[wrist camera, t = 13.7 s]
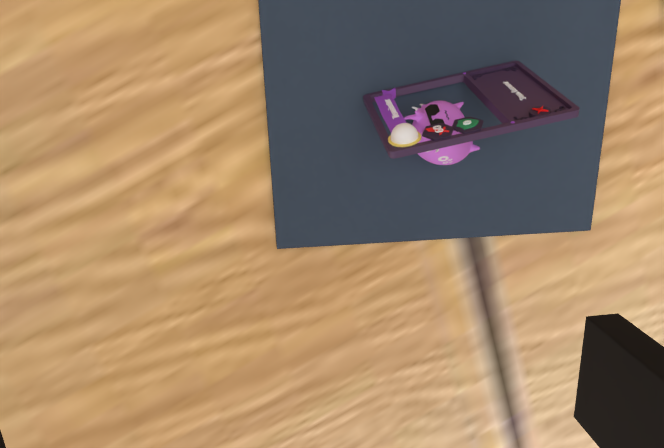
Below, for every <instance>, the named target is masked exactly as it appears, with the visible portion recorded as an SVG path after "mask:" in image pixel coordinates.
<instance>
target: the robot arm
mask: <svg viewBox="0 0 664 448" xmlns="http://www.w3.org/2000/svg"><path fill="white" fill-rule="evenodd" d="M574 417H575V419H576V420H577V421H578V422H579V423H580V425H581V426H582V427H583V428H584V429H585V431H586V432H587V433H588V434H589V435H590V437H591V438H592V439H593V440H594V441H595V443H596V444H597V445H598V446H599V447H600V448H664V347H663V346H662V345H660V344H659V343H657V342H656V341H655V340H653V339H652V338H651V337H649V336H648V335H647V334H645V333H644V332H642V331H641V330H640V329H638V328H637V327H636V326H634V325H633V324H632V323H630V322H629V321H628V320H626V319H625V318H623V317H622V316H621V315H619V314H608V315H598V316H588V317H586V323H585V331H584V339H583V347H582V355H581V363H580V371H579V379H578V387H577V395H576V403H575V411H574ZM0 448H6V447H5V443H4V440H3V437H2V434H1V431H0Z"/></svg>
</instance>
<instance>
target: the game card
mask: <svg viewBox="0 0 664 448" xmlns="http://www.w3.org/2000/svg"><path fill="white" fill-rule="evenodd" d="M459 82H464V83H465V84H466V85H467V87H468V88H469V89H470V90H471V91H472V92H473V93H474V94H475V95H476V96H477V97H478V98H479V99H480V100H481V101H482V102H483V104H484V105H485V106H486V107H487V108H488V109H489V110H490V111H491V112H492V113H493V114H494V115H495V116H496V117H497V118H498V119H499V121H500V122H501V123H502V124H500V125H496V126H491V127H487V128H482V125H483V122H484V121H483V120H480V119H477V118H474V117H471V116H469V117H464V115H463V114H462V112H461V111H460V108H461V107H462V105H463V104H464V102H459V103H456V104H452V103H449V102H446V101H433V102H430V103H428V104H420V105H421V108H417V107H412V108H413V109H415V110H416V111H415V114H414V115H409V116H406V117H405V118H404V117H403V116H402V114H401V112H400V111H399V109H398V106H397V104H396V102H395V100H394V99H395V98H396V97H397V96H402V95H406V94H411V93H415V92H419V91H424V90H428V89H433V88H437V87H441V86H446V85H450V84H455V83H459ZM363 101H364V104H365V107H366V109H367V111H368V113H369V115H370V117H371V119H372V122H373V124H374V126H375V128H376V130H377V132H378V134H379V136H380V139H381V141H382V143H383V145H384V147H385V149H386V151H387V154H388V156H389V157H390V158H392V159H395V158H400V157H404V156H409V155H413V154H418V155H419V156H420V157H422V158H423V159H424V160H426V161H428V162H430V163H433V164H437V165H451V164H455V163H458V162H460V161H461V160H463V159H464V158H465V157H466V156H467V155H468V154H469V153H470V152H473V151H476V150H479V149H480V147H479V146H476V145H474V144H473V141H475V140H479V139H484V138H488V137H493V136H497V135H501V134H506V133H510V132H515V131H519V130H523V129H528V128H532V127H537V126H541V125H545V124H550V123H554V122H559V121H563V120H567V119H572V118H576V117H578V116H579V109H580V108H579V107H578V106H577V105H576V104H574V103H573V102H572V101H570V100H569V99H568V98H567V97H565V96H564V95H563V94H561V93H560V92H559V91H557V90H556V89H555V88H554V87H552V86H551V85H550V84H548V83H547V82H546V81H544V80H543V79H542V78H540V77H539V76H538V75H537V74H535V73H534V72H533V71H531V70H530V69H529V68H527V67H526V66H525V65H524V64H522V63H521V62H520V61H511V62H506V63H502V64H498V65H493V66H489V67H484V68H480V69H476V70H471V71H467V72H462V73H458V74H453V75H449V76H445V77H440V78H436V79H431V80H427V81H423V82H418V83H414V84H409V85H405V86H400V87H396V88H392V89H387V90H382V91H378V92H374V93H370V94H366V95H364V96H363ZM375 101H376V103H377V105H378V107H379V110H380V112H381V115H382V117H383V119H384V121H385V122H386V124H387V126H388V128H389V130H390V132H391V135H390V136H389V135H388V133H387V131H386V129H385V127H384V125H383V123H382V121H381V119H380V118H379V116H378V114H377V112H376V110H375V108H374V106H373V104H372V102H375ZM407 119H412V120H414V121H413V123H412V125H411V124H409V123H407V122H406V121H405V120H407ZM481 128H482V129H481ZM394 146H395V147H397V148H395V147H394Z"/></svg>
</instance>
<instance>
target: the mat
mask: <svg viewBox="0 0 664 448" xmlns="http://www.w3.org/2000/svg"><path fill="white" fill-rule="evenodd" d="M258 1H259V15H260V28H261V41H262V55H263V68H264V82H265V95H266V108H267V122H268V135H269V148H270V162H271V175H272V189H273V202H274V215H275V229H276V242H277V249H283V248H300V247H317V246H333V245H350V244H367V243H384V242H401V241H418V240H435V239H452V238H469V237H486V236H503V235H520V234H537V233H554V232H571V231H588V230H591V223H592V215H593V208H594V200H595V193H596V185H597V177H598V170H599V162H600V155H601V147H602V139H603V132H604V124H605V117H606V109H607V102H608V94H609V86H610V79H611V71H612V64H613V56H614V48H615V41H616V33H617V26H618V18H619V10H620V3H621V0H258ZM511 61H520V62H521V63H522V64H524V65H525V66H526V67H527V68H529V69H530V70H531V71H533V72H534V73H535V74H537V75H538V76H539V77H540V78H542V79H543V80H544V81H546V82H547V83H548V84H550V85H551V86H552V87H554V88H555V89H556V90H557V91H559V92H560V93H561V94H563V95H564V96H565V97H567V98H568V99H569V100H570V101H572V102H573V103H574V104H576V105H577V106H578V107H579V108H580V109H579V116H578V117H576V118H572V119H567V120H563V121H559V122H554V123H550V124H545V125H541V126H537V127H532V128H528V129H523V130H519V131H515V132H510V133H506V134H501V135H497V136H493V137H488V138H484V139H479V140H475V141H473V144H474V145H476V146H479V147H480V149H479V150H476V151H473V152H470V153H469V154H468V155H467V156H466V157H465V158H464V159H463V160H461V161H460V162H458V163H455V164H451V165H437V164H433V163H430V162H428V161H426V160H424V159H423V158H422V157H420V156H419V155H418V154H413V155H409V156H404V157H400V158H395V159H392V158H390V157H389V156H388V154H387V151H386V149H385V147H384V145H383V143H382V141H381V139H380V136H379V134H378V132H377V130H376V128H375V126H374V124H373V122H372V119H371V117H370V115H369V113H368V111H367V109H366V107H365V104H364V101H363V96H364V95H366V94H370V93H374V92H378V91H382V90H387V89H392V88H396V87H400V86H405V85H409V84H414V83H418V82H423V81H427V80H431V79H436V78H440V77H445V76H449V75H453V74H458V73H462V72H467V71H471V70H476V69H480V68H484V67H489V66H493V65H498V64H502V63H506V62H511ZM394 100H395V102H396V104H397V106H398V109H399V111H400V112H401V114H402V116H403V117H404V118H405V117H406V116H409V115H414V114H415V111H416V110H415V109H413V108H412V107H417V108H421V105H420V104H428V103H430V102H433V101H446V102H449V103H452V104H456V103H459V102H464V104H463V105H462V107H461V108H460V111H461V112H462V114H463V115H464V117H469V116H471V117H474V118H477V119H480V120H483V121H484V122H483V125H482V128H487V127H491V126H496V125H500V124H502V123H501V122H500V121H499V119H498V118H497V117H496V116H495V115H494V114H493V113H492V112H491V111H490V110H489V109H488V108H487V107H486V106H485V105H484V104H483V102H482V101H481V100H480V99H479V98H478V97H477V96H476V95H475V94H474V93H473V92H472V91H471V90H470V89H469V88H468V87H467V85H466V84H465V83H464V82H459V83H455V84H450V85H446V86H441V87H437V88H433V89H428V90H424V91H419V92H415V93H411V94H406V95H402V96H397V97H396V98H395V99H394ZM372 104H373V106H374V108H375V110H376V112H377V114H378V116H379V118H380V119H381V121H382V123H383V125H384V127H385V129H386V131H387V133H388V135H389V136H390V135H391V132H390V130H389V128H388V126H387V124H386V122H385V121H384V119H383V117H382V115H381V112H380V110H379V107H378V105H377V103H376V101H375V102H372ZM405 121H406V122H407V123H409V124H411V125H412V123H413V121H414V120H412V119H407V120H405ZM482 128H481V129H482ZM394 147H395V146H394ZM395 148H397V147H395Z"/></svg>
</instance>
